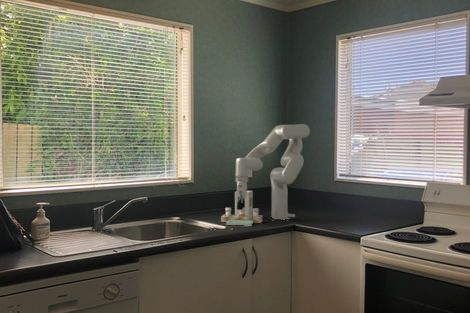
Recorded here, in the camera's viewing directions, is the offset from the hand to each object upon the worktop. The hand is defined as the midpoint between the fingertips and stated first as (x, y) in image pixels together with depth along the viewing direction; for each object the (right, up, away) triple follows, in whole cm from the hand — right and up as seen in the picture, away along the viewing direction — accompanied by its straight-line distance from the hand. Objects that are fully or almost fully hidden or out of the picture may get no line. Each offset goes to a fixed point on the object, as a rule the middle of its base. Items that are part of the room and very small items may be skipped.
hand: (240, 208), depth 274 cm
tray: (-1, -9, -9) cm, 12 cm away
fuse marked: (+1, -8, 0) cm, 8 cm away
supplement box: (+2, -8, +18) cm, 20 cm away
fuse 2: (+8, -8, -1) cm, 12 cm away
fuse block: (+1, -8, 0) cm, 8 cm away
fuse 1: (-7, -8, +2) cm, 11 cm away
